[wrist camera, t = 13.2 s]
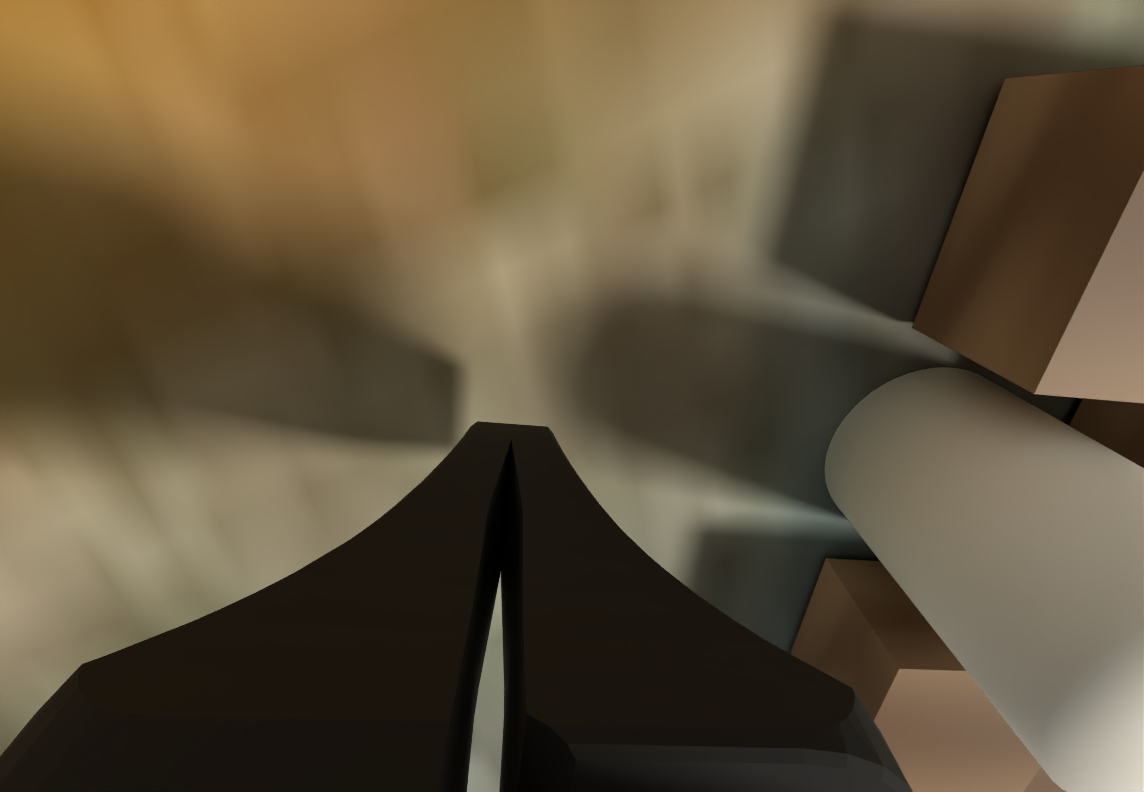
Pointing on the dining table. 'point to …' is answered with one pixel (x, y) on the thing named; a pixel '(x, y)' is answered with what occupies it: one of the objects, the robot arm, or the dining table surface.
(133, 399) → the dining table surface
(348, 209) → the dining table surface
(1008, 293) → the block
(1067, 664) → the dowel
